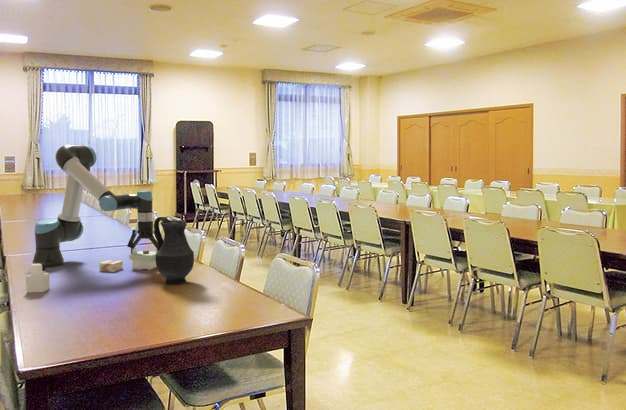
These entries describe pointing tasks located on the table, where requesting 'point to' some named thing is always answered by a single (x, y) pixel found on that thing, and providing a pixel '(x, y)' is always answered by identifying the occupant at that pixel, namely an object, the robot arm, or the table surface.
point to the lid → (143, 255)
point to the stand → (111, 266)
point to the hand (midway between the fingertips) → (146, 261)
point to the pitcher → (173, 251)
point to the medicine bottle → (37, 278)
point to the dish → (143, 264)
